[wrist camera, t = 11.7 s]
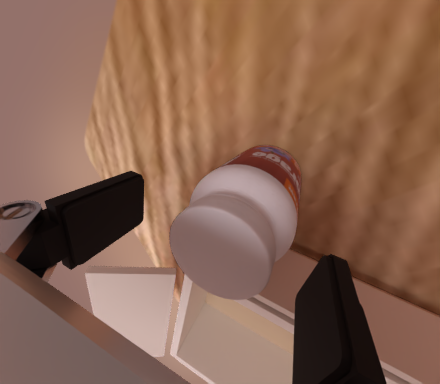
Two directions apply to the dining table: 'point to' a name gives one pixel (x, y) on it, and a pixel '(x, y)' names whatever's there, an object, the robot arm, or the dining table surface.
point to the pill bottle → (239, 223)
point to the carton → (284, 331)
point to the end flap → (134, 302)
